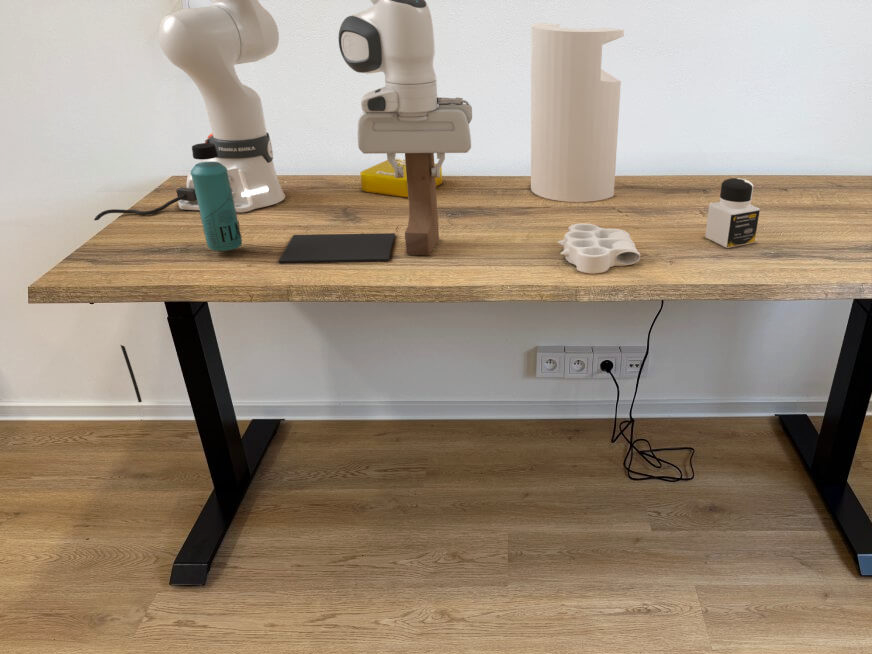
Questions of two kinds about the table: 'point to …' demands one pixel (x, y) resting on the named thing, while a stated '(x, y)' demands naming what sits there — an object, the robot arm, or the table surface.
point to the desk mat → (338, 248)
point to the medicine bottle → (733, 215)
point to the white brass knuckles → (598, 248)
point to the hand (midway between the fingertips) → (417, 177)
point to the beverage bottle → (215, 200)
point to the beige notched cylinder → (572, 114)
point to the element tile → (388, 179)
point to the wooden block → (421, 204)
